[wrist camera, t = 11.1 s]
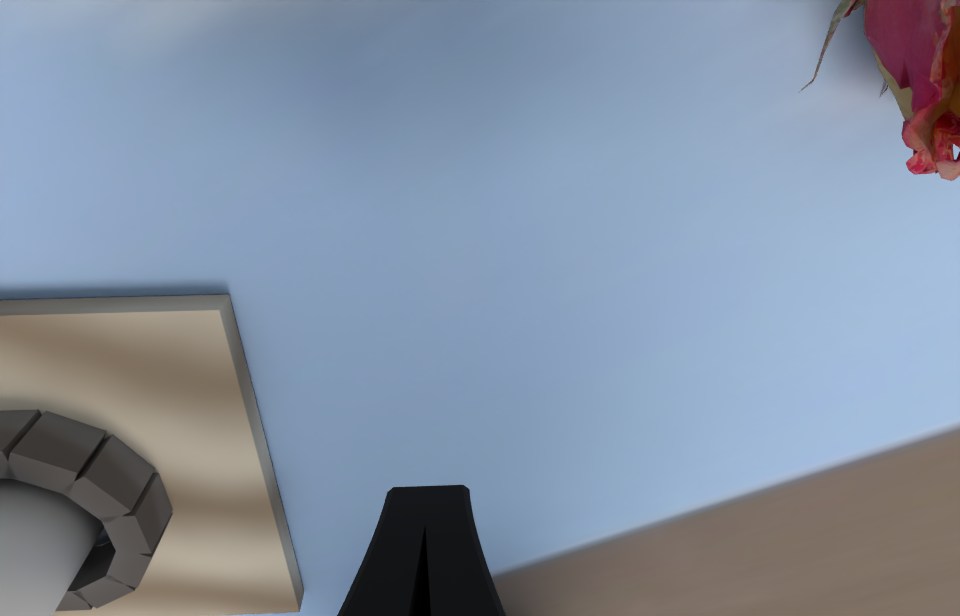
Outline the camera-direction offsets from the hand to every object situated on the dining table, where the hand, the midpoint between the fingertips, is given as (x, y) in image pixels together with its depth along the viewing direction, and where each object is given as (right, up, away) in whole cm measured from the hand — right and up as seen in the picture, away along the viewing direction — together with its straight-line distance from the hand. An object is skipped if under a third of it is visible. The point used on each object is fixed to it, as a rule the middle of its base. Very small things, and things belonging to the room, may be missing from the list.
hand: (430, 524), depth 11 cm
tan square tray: (-15, -3, +13) cm, 20 cm away
